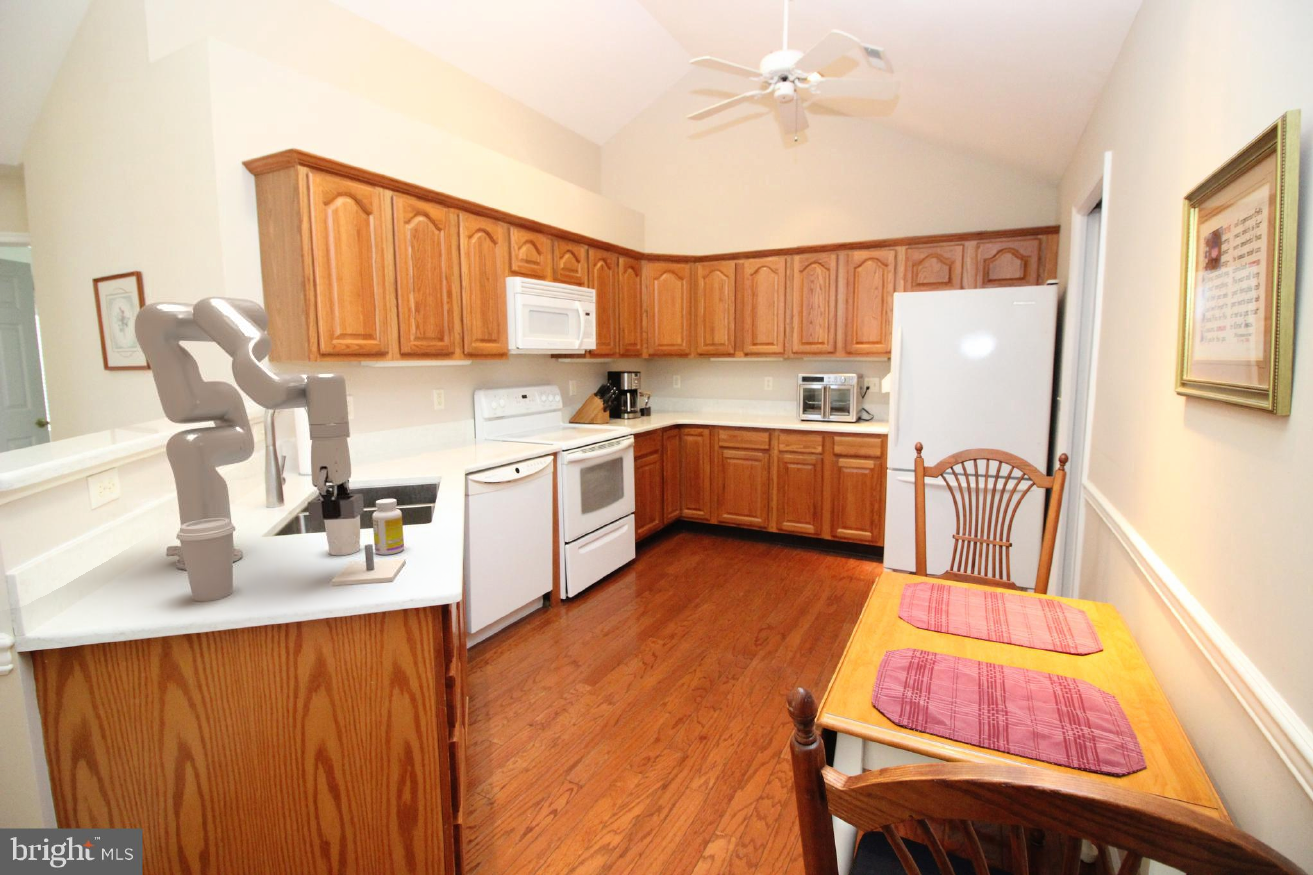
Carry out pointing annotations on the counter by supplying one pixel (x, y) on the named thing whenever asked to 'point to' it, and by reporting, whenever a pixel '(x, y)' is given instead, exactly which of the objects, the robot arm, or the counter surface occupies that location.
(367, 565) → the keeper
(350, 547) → the white cup
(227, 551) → the coffee cup
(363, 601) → the counter surface
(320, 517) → the link
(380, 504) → the supplement bottle
